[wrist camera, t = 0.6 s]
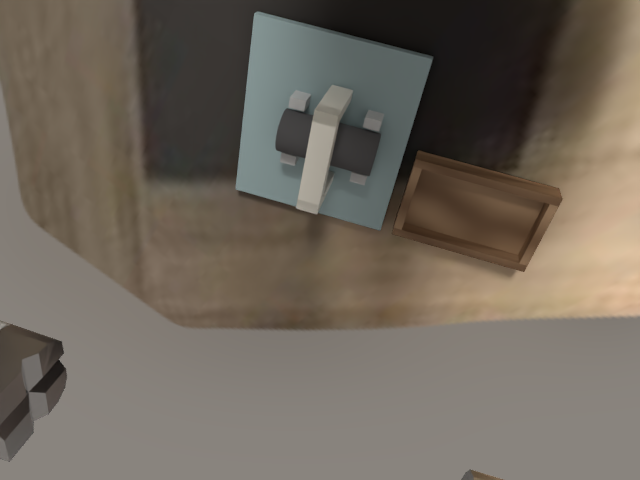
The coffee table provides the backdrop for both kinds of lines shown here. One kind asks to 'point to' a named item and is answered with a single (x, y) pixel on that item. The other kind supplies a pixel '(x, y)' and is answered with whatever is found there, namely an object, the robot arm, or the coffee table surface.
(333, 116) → the u-shaped staple bracket
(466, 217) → the tray
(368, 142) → the dark grey rounded bar
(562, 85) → the coffee table surface
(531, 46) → the coffee table surface
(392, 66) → the clip board
